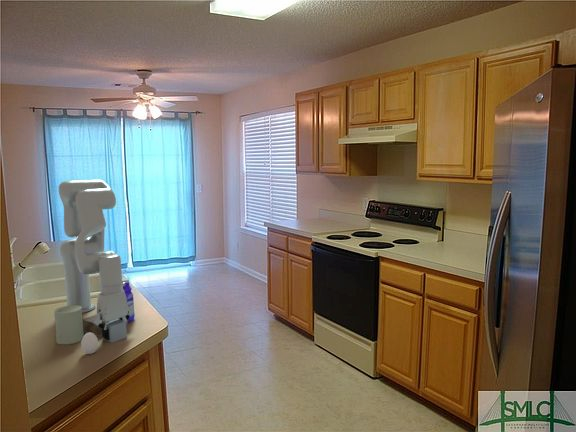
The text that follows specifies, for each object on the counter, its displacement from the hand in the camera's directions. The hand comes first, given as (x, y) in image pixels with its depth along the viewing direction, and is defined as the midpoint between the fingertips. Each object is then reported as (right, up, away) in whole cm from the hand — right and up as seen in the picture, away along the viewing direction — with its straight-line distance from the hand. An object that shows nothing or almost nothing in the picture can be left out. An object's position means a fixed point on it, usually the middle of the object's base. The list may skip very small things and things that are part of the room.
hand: (114, 335), depth 163 cm
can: (-16, -1, 0) cm, 16 cm away
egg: (-3, -3, -13) cm, 13 cm away
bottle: (-2, +1, +18) cm, 18 cm away
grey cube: (0, -1, 0) cm, 1 cm away
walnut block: (-8, 0, +9) cm, 12 cm away
